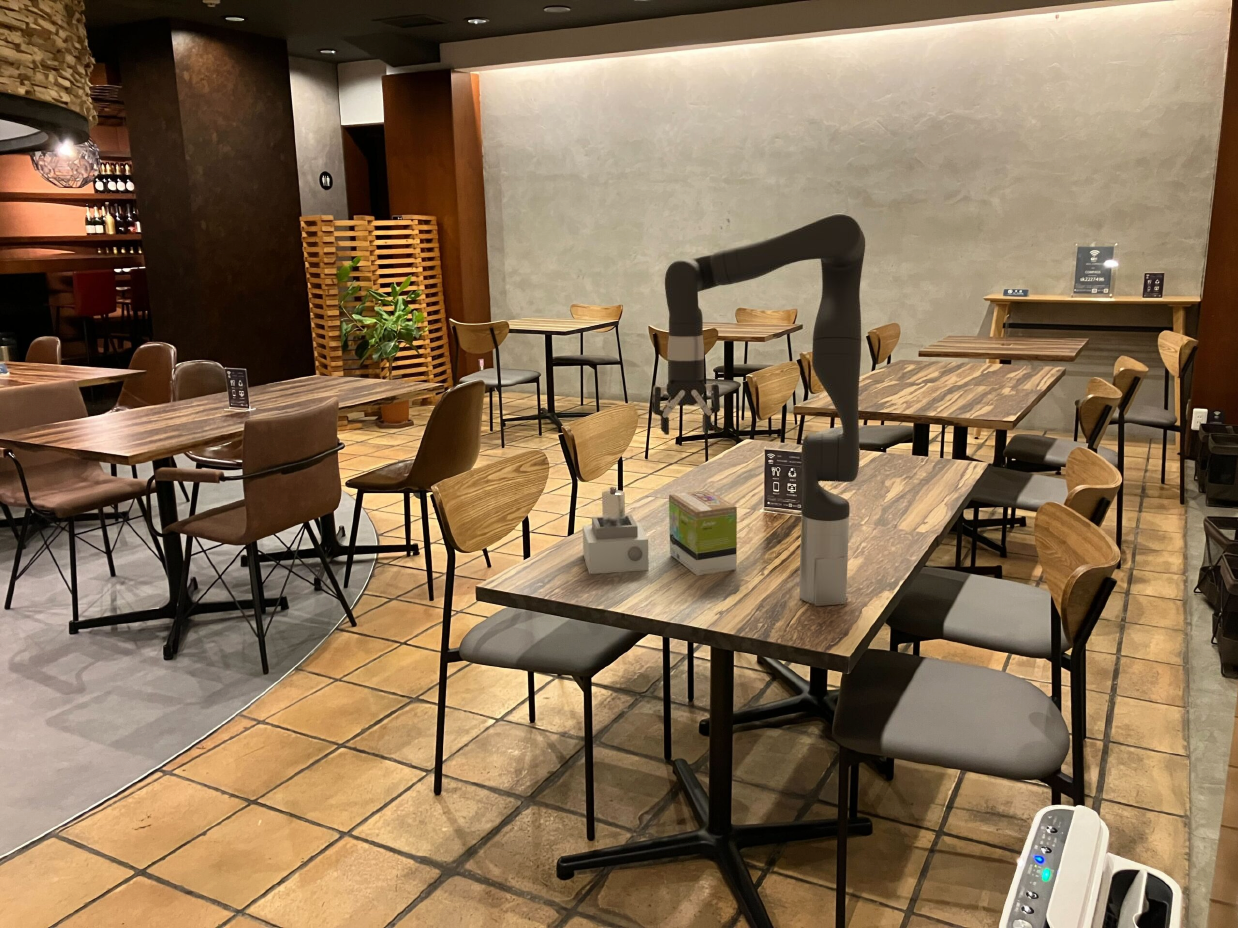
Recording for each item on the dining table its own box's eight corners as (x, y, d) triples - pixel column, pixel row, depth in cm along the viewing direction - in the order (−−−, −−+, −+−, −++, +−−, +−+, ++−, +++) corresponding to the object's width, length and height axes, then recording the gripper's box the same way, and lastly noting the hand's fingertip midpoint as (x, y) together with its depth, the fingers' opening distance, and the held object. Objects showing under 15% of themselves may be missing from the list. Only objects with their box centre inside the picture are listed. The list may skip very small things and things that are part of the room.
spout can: (626, 534, 214) (626, 490, 211) (604, 536, 213) (603, 491, 211) (623, 528, 219) (622, 484, 216) (601, 529, 218) (600, 485, 216)
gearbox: (649, 571, 211) (648, 529, 209) (589, 575, 210) (588, 532, 207) (639, 551, 225) (638, 511, 222) (583, 554, 223) (582, 514, 221)
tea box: (668, 555, 221) (667, 493, 218) (708, 550, 225) (708, 488, 221) (696, 576, 207) (696, 510, 204) (738, 570, 211) (738, 504, 207)
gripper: (656, 360, 198) (656, 438, 202) (723, 357, 201) (723, 435, 204) (648, 356, 206) (649, 431, 209) (714, 354, 208) (713, 428, 212)
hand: (686, 433), depth 207 cm, fingers open, 8 cm apart
